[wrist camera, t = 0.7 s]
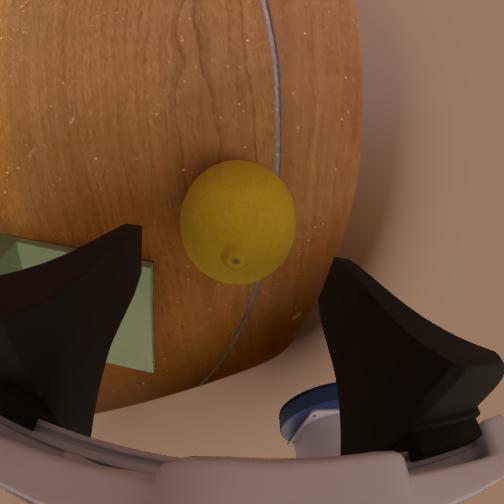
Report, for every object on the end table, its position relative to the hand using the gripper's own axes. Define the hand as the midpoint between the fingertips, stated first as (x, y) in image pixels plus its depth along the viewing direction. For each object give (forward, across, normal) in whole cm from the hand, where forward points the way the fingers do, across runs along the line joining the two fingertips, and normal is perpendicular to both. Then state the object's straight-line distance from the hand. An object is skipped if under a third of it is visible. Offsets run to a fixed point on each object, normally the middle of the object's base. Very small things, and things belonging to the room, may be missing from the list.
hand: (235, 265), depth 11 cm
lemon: (+8, 0, 0) cm, 8 cm away
